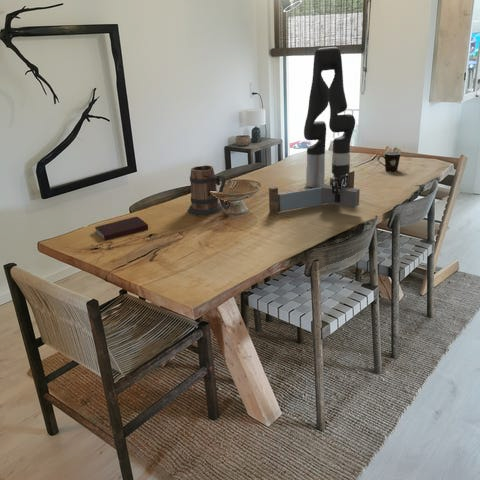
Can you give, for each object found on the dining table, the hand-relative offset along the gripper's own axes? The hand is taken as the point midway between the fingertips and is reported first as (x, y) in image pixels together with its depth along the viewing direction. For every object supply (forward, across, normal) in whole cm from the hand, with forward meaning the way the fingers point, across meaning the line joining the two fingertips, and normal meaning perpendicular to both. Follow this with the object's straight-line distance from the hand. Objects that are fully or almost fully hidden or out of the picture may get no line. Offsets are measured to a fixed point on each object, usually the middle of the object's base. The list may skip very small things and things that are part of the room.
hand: (339, 200), depth 209 cm
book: (+6, +63, -72) cm, 96 cm away
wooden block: (+5, -18, -6) cm, 20 cm away
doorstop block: (+2, 0, 0) cm, 2 cm away
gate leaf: (+5, +2, -16) cm, 17 cm away
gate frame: (+5, +2, -16) cm, 17 cm away
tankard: (+6, +24, -53) cm, 59 cm away
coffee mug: (+5, -79, -3) cm, 79 cm away
